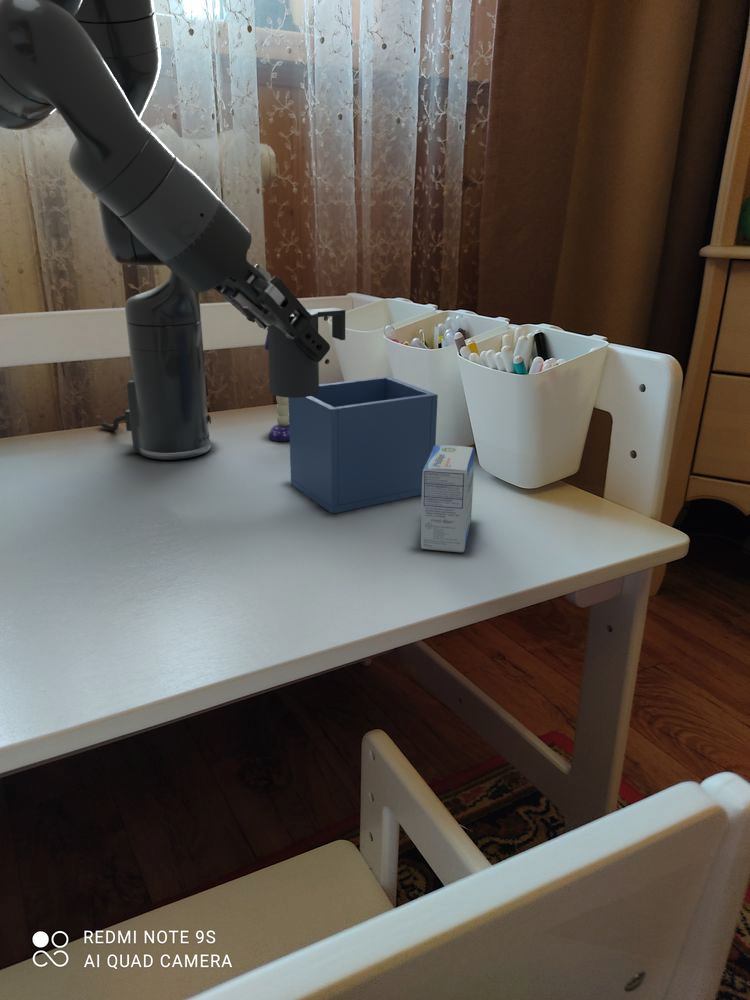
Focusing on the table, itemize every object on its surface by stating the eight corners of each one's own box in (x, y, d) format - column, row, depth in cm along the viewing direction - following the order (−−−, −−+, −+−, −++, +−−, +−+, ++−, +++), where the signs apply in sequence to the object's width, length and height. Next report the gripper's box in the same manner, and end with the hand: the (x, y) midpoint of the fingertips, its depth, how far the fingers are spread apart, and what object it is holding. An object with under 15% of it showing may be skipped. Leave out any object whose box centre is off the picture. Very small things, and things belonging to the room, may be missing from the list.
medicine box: (464, 554, 75) (469, 471, 72) (419, 550, 76) (422, 467, 73) (471, 523, 83) (476, 446, 79) (429, 519, 83) (433, 443, 80)
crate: (332, 514, 85) (331, 409, 80) (290, 484, 93) (287, 388, 89) (433, 492, 91) (438, 394, 87) (386, 466, 100) (388, 376, 95)
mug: (282, 400, 76) (280, 317, 73) (262, 389, 80) (259, 310, 77) (352, 391, 80) (352, 312, 77) (329, 380, 83) (329, 305, 80)
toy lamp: (265, 433, 112) (260, 317, 106) (296, 430, 114) (293, 315, 108) (272, 442, 108) (267, 322, 102) (304, 439, 110) (301, 320, 103)
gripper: (244, 195, 63) (369, 332, 73) (186, 192, 74) (302, 312, 84) (185, 265, 62) (320, 394, 72) (136, 252, 73) (259, 364, 84)
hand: (309, 349), depth 78 cm, fingers closed on mug, 5 cm apart
